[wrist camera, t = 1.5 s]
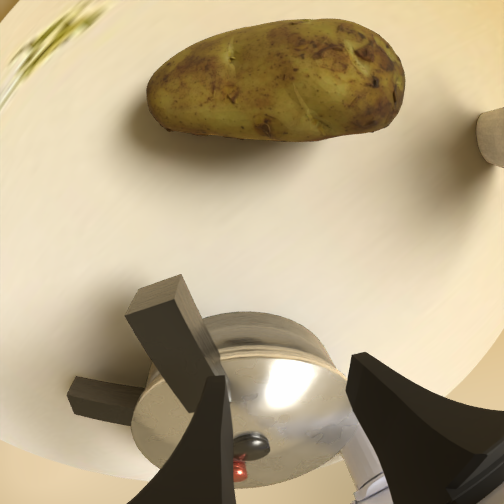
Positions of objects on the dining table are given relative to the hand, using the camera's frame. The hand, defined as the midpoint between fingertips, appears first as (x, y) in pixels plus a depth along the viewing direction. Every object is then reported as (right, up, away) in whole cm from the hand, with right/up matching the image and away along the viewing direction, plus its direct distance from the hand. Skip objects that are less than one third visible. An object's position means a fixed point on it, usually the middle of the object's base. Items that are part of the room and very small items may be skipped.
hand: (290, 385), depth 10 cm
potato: (-1, +15, +6) cm, 17 cm away
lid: (-3, -6, +7) cm, 10 cm away
